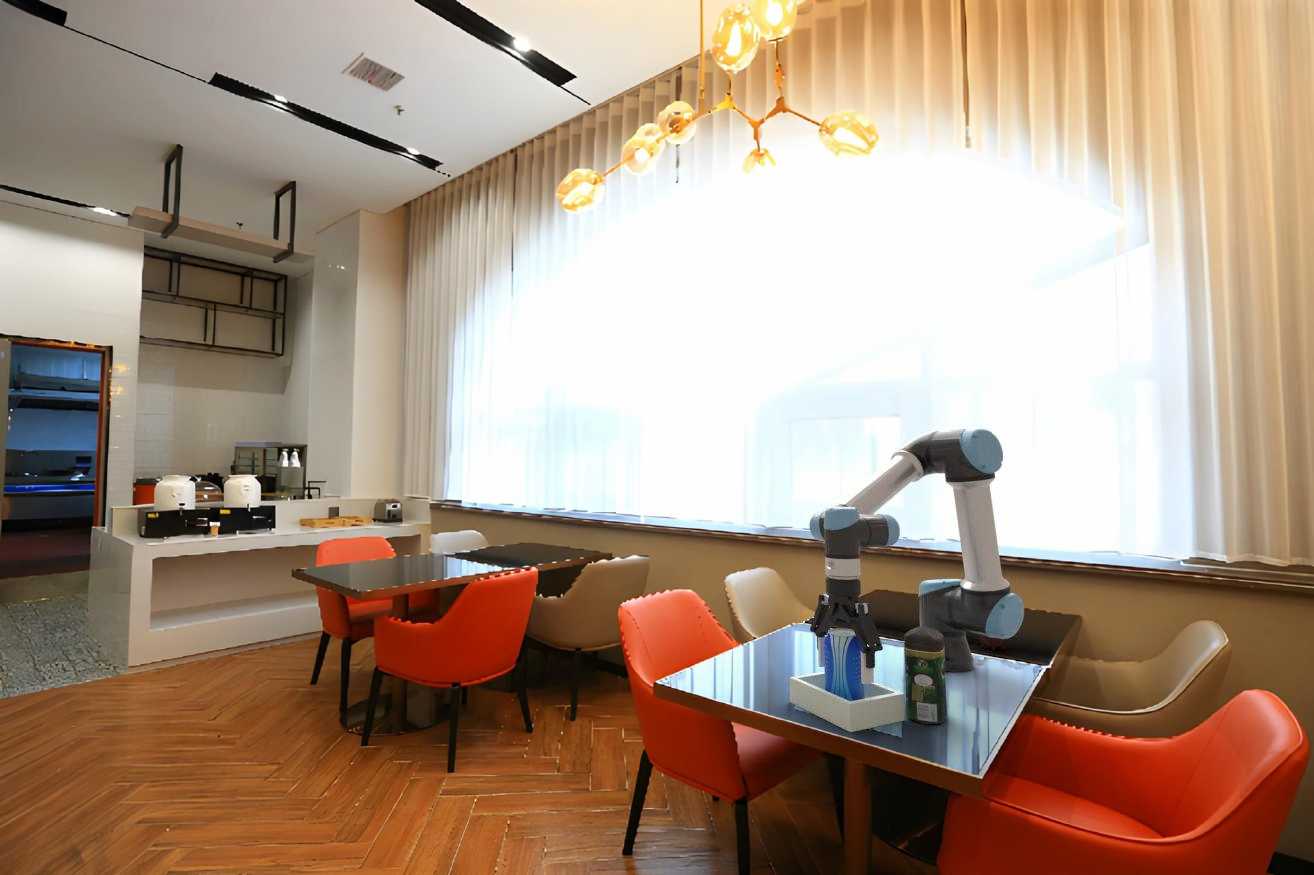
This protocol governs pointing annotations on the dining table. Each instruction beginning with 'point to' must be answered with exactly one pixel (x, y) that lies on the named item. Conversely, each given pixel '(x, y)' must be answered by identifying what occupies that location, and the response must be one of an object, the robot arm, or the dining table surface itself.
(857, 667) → the beer can
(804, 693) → the tote
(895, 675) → the dining table surface
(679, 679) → the dining table surface
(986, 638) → the mate gourd
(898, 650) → the dining table surface
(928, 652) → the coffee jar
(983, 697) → the dining table surface
